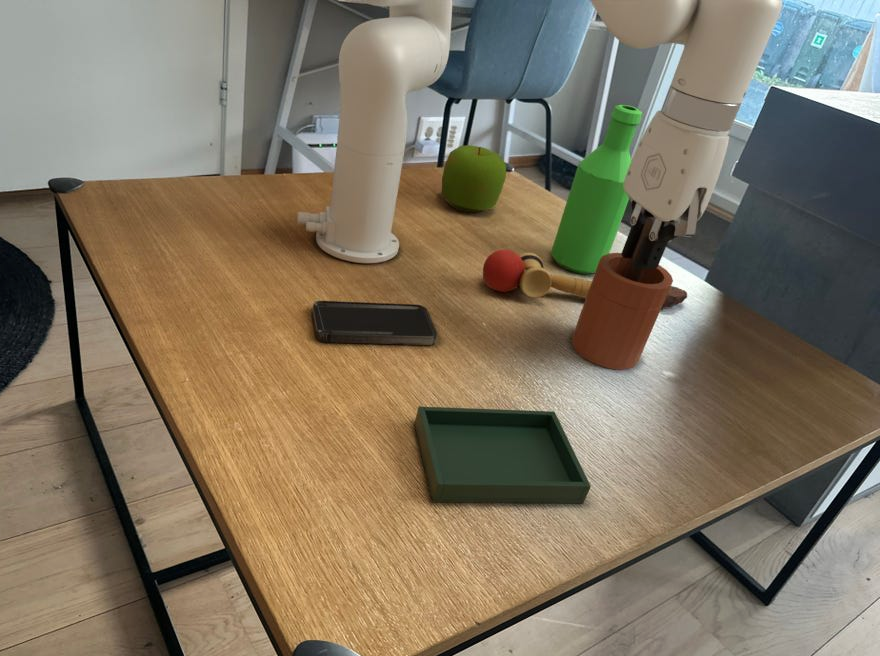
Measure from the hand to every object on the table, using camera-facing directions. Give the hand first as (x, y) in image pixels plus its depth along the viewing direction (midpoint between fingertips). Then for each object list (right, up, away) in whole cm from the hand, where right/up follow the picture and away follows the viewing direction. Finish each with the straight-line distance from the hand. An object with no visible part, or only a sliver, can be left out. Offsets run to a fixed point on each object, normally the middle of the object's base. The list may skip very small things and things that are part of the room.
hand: (638, 261), depth 86 cm
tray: (-20, -22, -15) cm, 33 cm away
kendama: (-9, -2, +18) cm, 20 cm away
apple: (-17, +16, +42) cm, 48 cm away
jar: (-2, -11, +7) cm, 13 cm away
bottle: (-1, +4, +28) cm, 29 cm away
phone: (-33, -8, +3) cm, 34 cm away
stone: (+11, -3, +22) cm, 25 cm away
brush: (-2, -8, +5) cm, 10 cm away
